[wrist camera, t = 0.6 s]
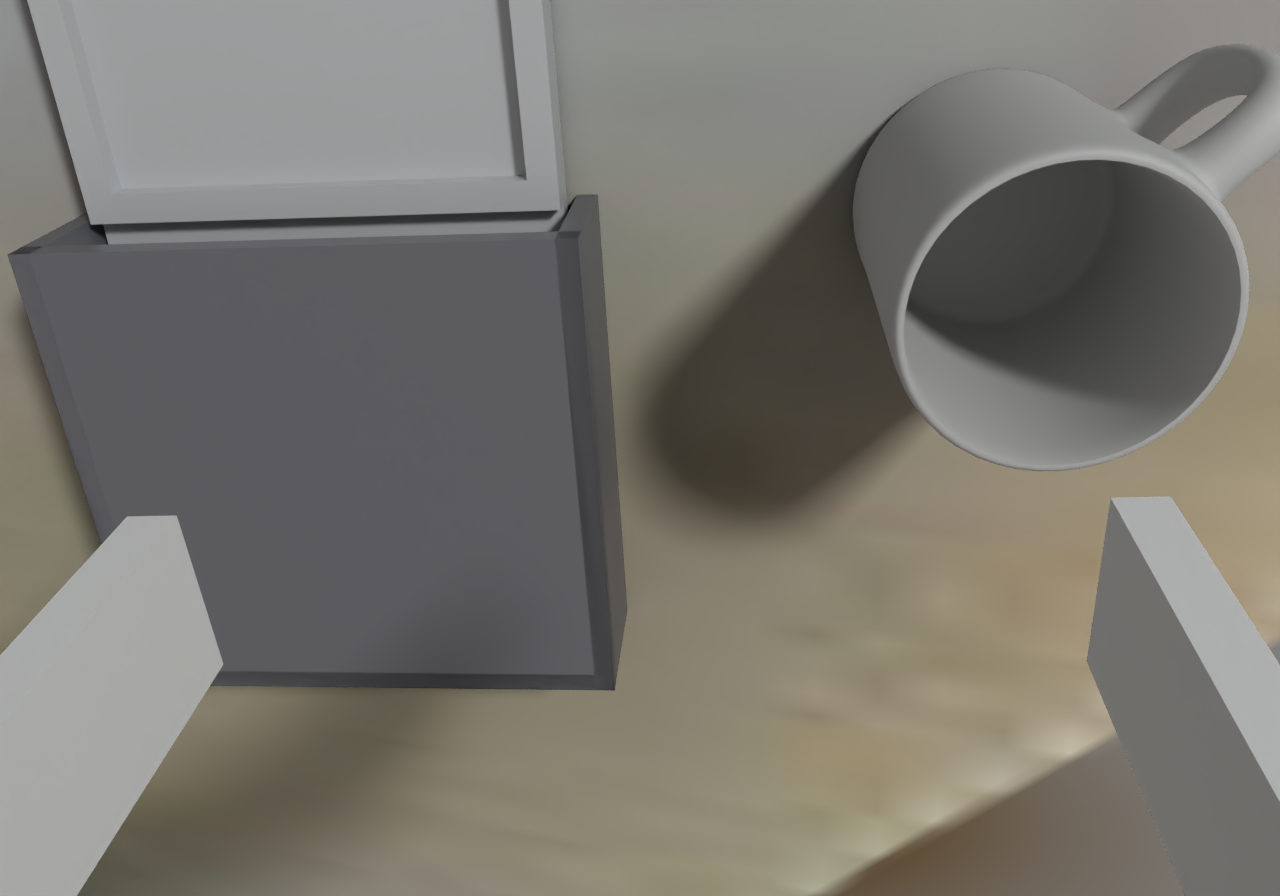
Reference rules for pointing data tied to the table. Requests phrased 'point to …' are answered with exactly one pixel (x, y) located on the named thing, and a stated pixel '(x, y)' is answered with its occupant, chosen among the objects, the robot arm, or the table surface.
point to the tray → (308, 116)
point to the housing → (356, 443)
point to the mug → (1063, 254)
